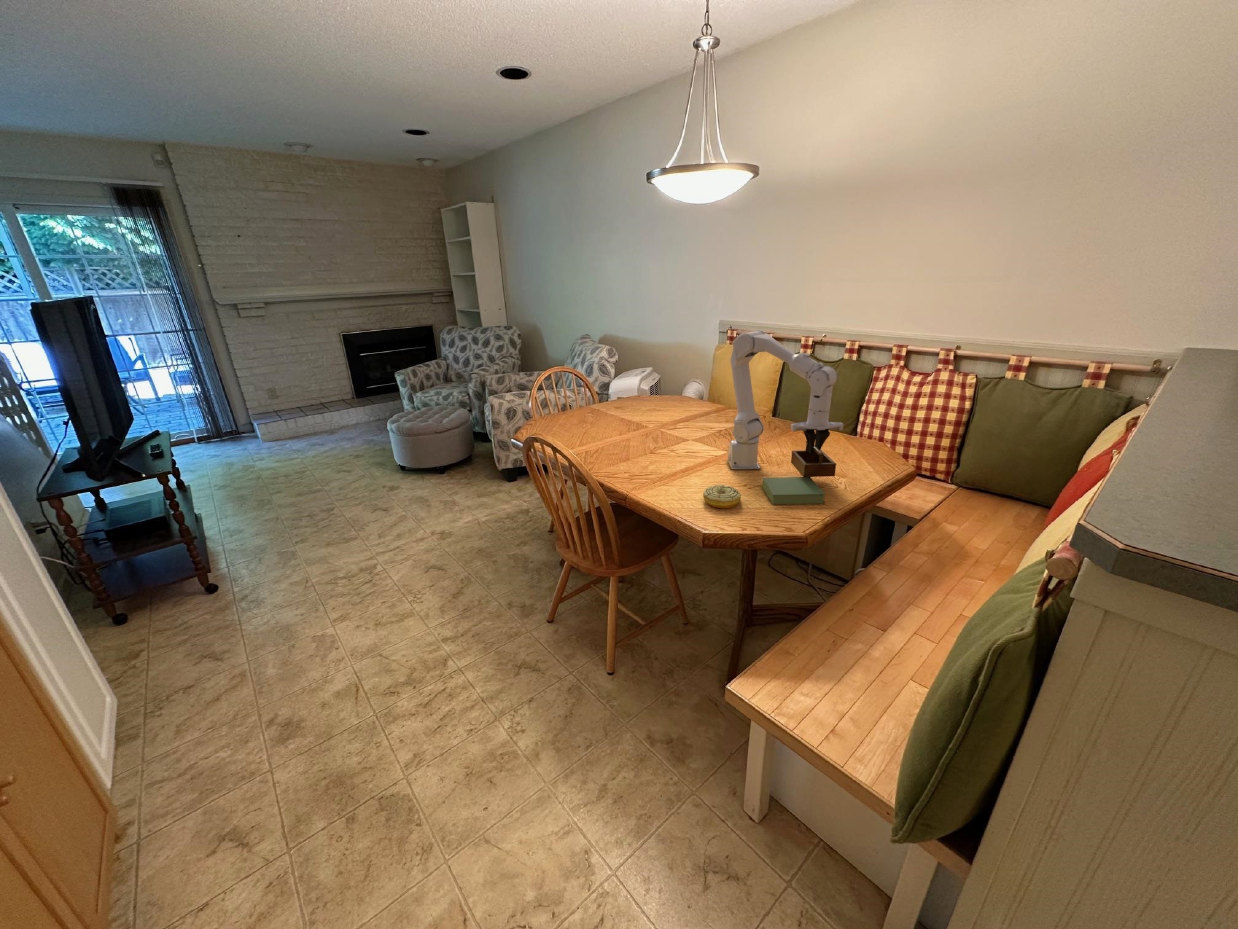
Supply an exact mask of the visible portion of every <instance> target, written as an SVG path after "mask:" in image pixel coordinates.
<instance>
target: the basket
mask: <svg viewBox="0 0 1238 929" xmlns="http://www.w3.org/2000/svg"><path fill="white" fill-rule="evenodd" d="M814 451H815V452H816V453H817V454H816V453H815V452H813V454H810V453H809V452H808V444H807V440H806V441H805V449H804V450H803V449H801V450H800V449H799V450H791V456H790V457H791V458H790V463H791V464H792V465H793V467H794V468H795V469H796V470H797V471H798V473H799V474H800V475H801V477H811V478H822V477H835V476H836V470H837V469H836V468H837V463H836V462H835V461H834V460H833V459H832V458H831V457H830V456H828V454H826V453H825V452H824V451H823V450H822V449H821V450H819V449H818V448H817V447H816V446H815V445H814Z"/></svg>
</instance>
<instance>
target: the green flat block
mask: <svg viewBox="0 0 1238 929" xmlns="http://www.w3.org/2000/svg"><path fill="white" fill-rule="evenodd" d="M761 479H762V484H761V487H762V490H763V491H764V492H765V494H766V496H767V497H768V499H769V500H770V502H771V503H772V505H804V504H805V505H807V504H808V505H809V504H810V505H811V504H813V505H814V504H824V499H825V496H826V493H825V492H824V491H823V489H821V487H820V486H819V485H818V484H817V482H815V480H814V479H813V478H812V477H803V476H781V477H779V476H777V477H776V476H775V477H761Z"/></svg>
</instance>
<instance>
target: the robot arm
mask: <svg viewBox="0 0 1238 929" xmlns="http://www.w3.org/2000/svg"><path fill="white" fill-rule="evenodd" d="M732 348H733V349H732V352H731V356H730V366H731V374H732V381H733V388H734V394H735V396H734V397H735V403H736V410H737V414H736V416H735V417H734V420H733V429H732V436H733V438H734V440H730V441H729V442H728V454H727V463H728V464H729V467H730V469H731V470H760V469H761V466H760V465H759V463H758V455H759V445H760V444H759V443H760V436H761V435H762V434H763V433H764V428H765V427H764V424H763V422H762V420H761V416H760V413H758V412H757V411H756V409H755V408H756V407H755V401H754V395H753V394H754V393H753V386H752V378H751V372H750V371H751V370H750V362H751V361H752V359H753V358H754V357H755V356H756V355H757V354H758V353H765V352H766V353H768V354H770V355H771V356H774V357H775V358H777V359H779V360H781V361H782V362H784V363H786V364H788V367H789V370H790V371H791V372H793V373H794V374H796V375H798V376H799V377H800V378H802V379H804V380H805V381H807V382H808V385H809V387H810V394H809V402H808V412H807V419H806V421H802V422H794V423H790V430H791V431H792V432H794V433H795V432H803V434H804V437H805V439H806V441H807V444H808V452H809V453H810V454H813V452H815V451H814V446H816V447H817V448H818V449H819V450H822V447H823V445H824V444H825V442H826V441H827V439H828V438H829V437H830V435H831V432H830V431H843V430H844V423H843V422H841V421H840V422H839V421H837V422H836V421H829V418H830V417H829V416H830V411H831V403H832V396H833V389H834V388H833V387H834V385H835V383H836V382H837V380H838V373H837V371H836V369H834V368H833V367H832V366H831V365H824V363H822V362H821V361H820V362H819V361H816V360H815V359H813V358H812V357H810V356H811V354H809V353H807V352H805V353H803V352H799V353H795V352H793V351H792V350H791V349H790V348H788V347H786V346H785V345H784V344H782V343H780V342H779V341H778V340H776V339H775V338H774V337H772V336H771V334H769V333H766V332H764V331H763V330H754V331H749V332H742V333H739V334H738V335H737V336H736V337H735V339H734V340H733V341H732ZM815 453H816V452H815ZM816 454H817V453H816Z"/></svg>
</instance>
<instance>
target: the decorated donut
mask: <svg viewBox="0 0 1238 929" xmlns="http://www.w3.org/2000/svg"><path fill="white" fill-rule="evenodd" d="M702 494H703V495H702V497H703V500H704V502H705V503H706V504H708V505H709V506H710V507H713V508H717V509H731V508H733V507H735V506H737V505H738V504H739V502H740V501H741V498H742V494H741V492H740V491H739V490H738V489H736V488H735V487H734V486H733V487H732V486H730V485H727V484H725V485H724V484H716V485H712V486H709V487H707V488H705V489H704V491H703V493H702Z"/></svg>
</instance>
